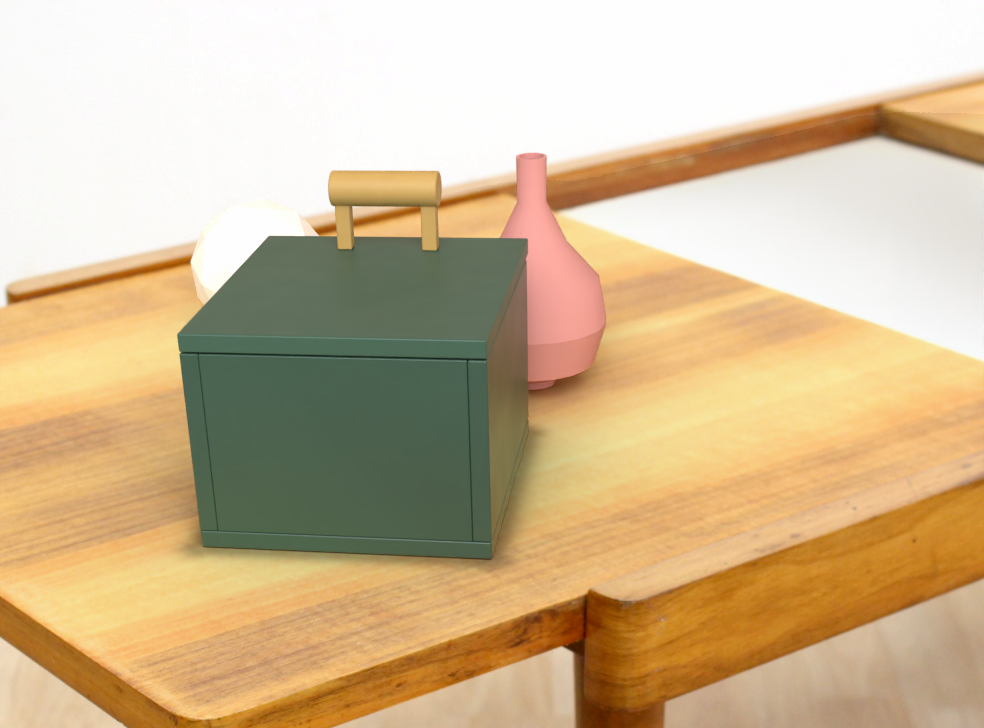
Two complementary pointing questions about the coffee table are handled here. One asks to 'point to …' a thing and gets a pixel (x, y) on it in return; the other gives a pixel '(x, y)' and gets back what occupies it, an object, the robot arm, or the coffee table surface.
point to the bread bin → (359, 447)
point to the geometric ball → (239, 240)
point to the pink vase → (554, 284)
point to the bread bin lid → (365, 285)
